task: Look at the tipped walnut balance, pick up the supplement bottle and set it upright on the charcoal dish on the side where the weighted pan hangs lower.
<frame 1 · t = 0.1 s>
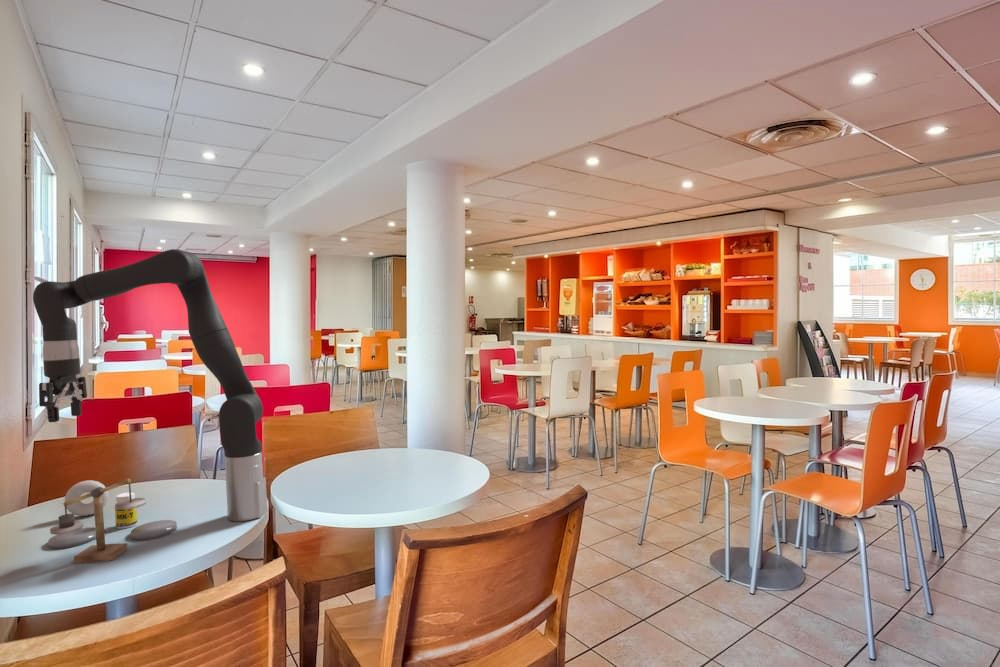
hand: (65, 418, 144), 29 cm above the table, tool pointing down, fingers open, 8 cm apart
donut: (88, 516, 154), on the table
dish low side: (74, 540, 137), on the table
balance: (101, 556, 127), on the table
dish high side: (154, 532, 140), on the table
supplement bottle: (127, 526, 145), on the table
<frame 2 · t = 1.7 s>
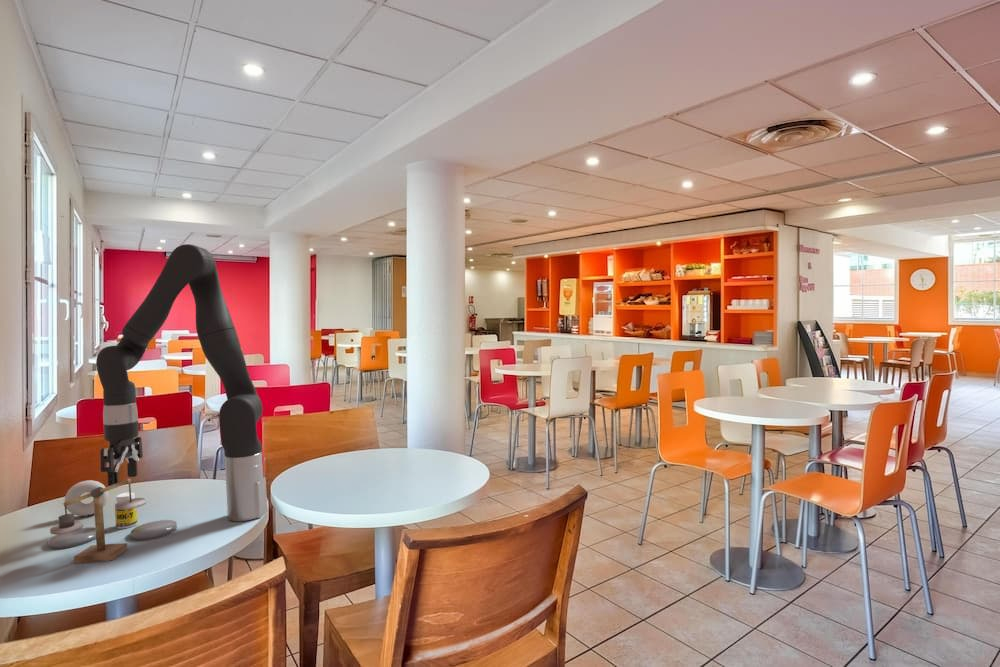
hand: (123, 481, 145), 12 cm above the table, tool pointing down, fingers open, 8 cm apart
nothing on the table moved.
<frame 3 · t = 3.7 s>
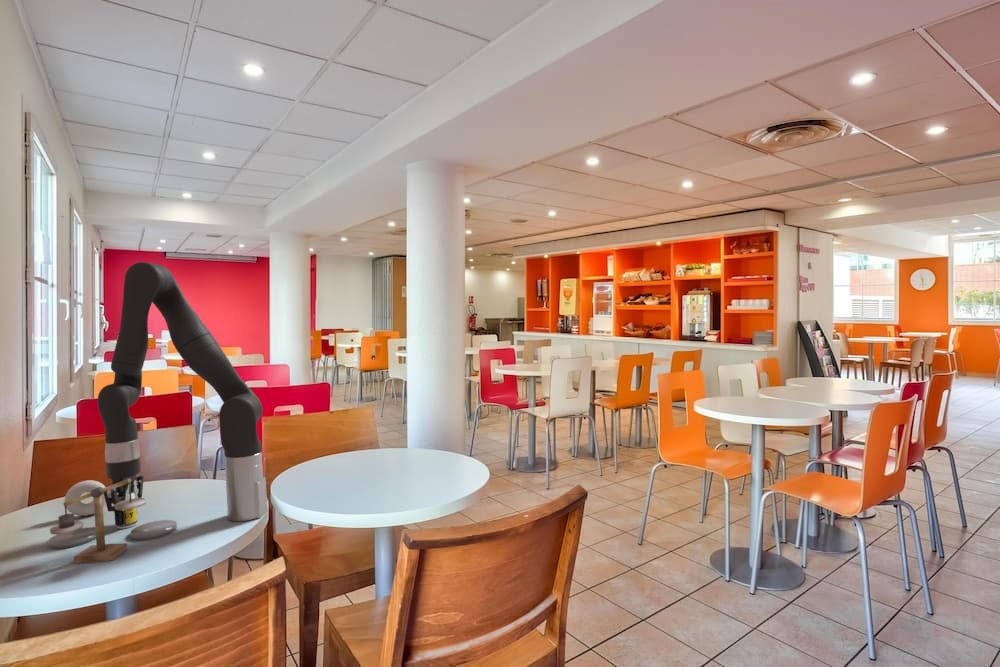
hand: (126, 520, 145), 1 cm above the table, tool pointing down, fingers closed on supplement bottle, 4 cm apart
supplement bottle: (127, 526, 145), on the table, touching gripper
everything else where it was.
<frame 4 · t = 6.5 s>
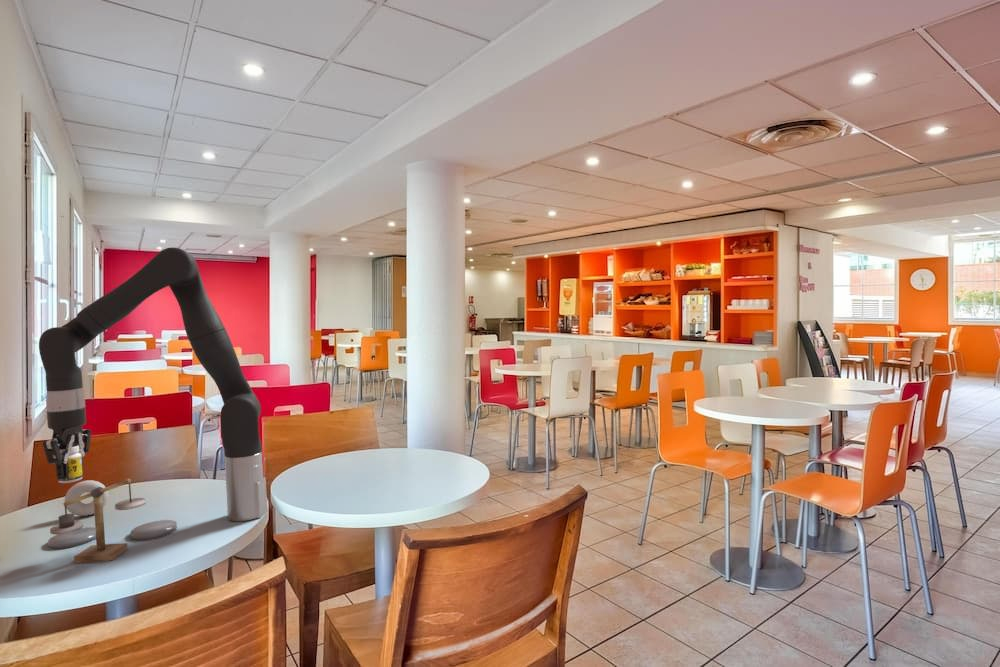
hand: (70, 475, 136), 16 cm above the table, tool pointing down, fingers closed on supplement bottle, 4 cm apart
supplement bottle: (70, 481, 136), point 15 cm above the table, touching gripper
everything else where it was.
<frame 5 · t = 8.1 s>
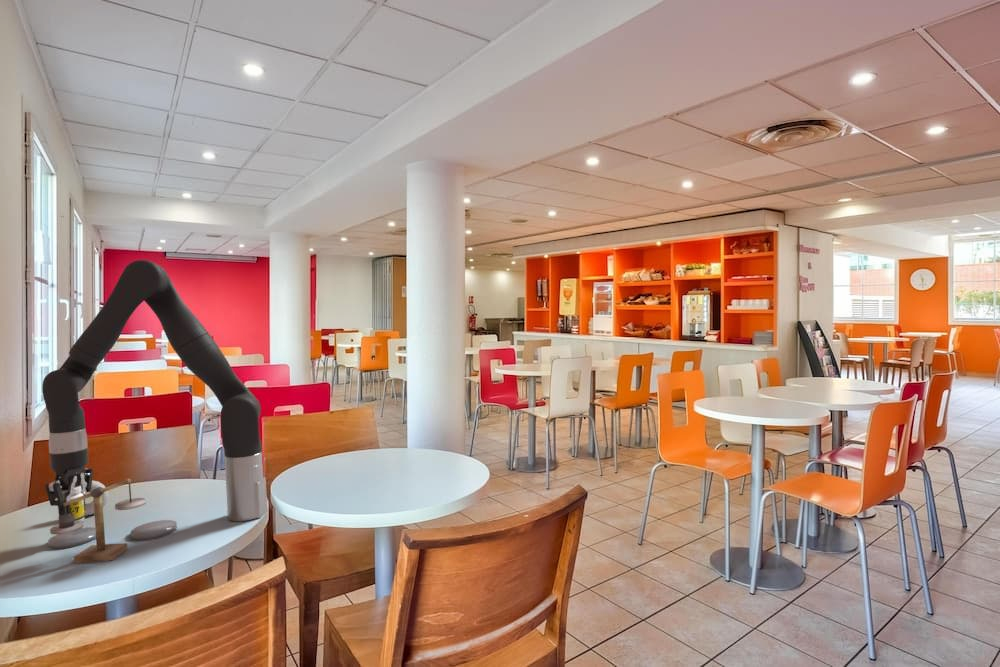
hand: (72, 515, 136), 6 cm above the table, tool pointing down, fingers closed on supplement bottle, 4 cm apart
supplement bottle: (72, 521, 136), point 5 cm above the table, touching gripper
everything else where it was.
when the fingers open (3 cm above the table, at t = 9.6 s): supplement bottle stays where it is, resting on dish low side.
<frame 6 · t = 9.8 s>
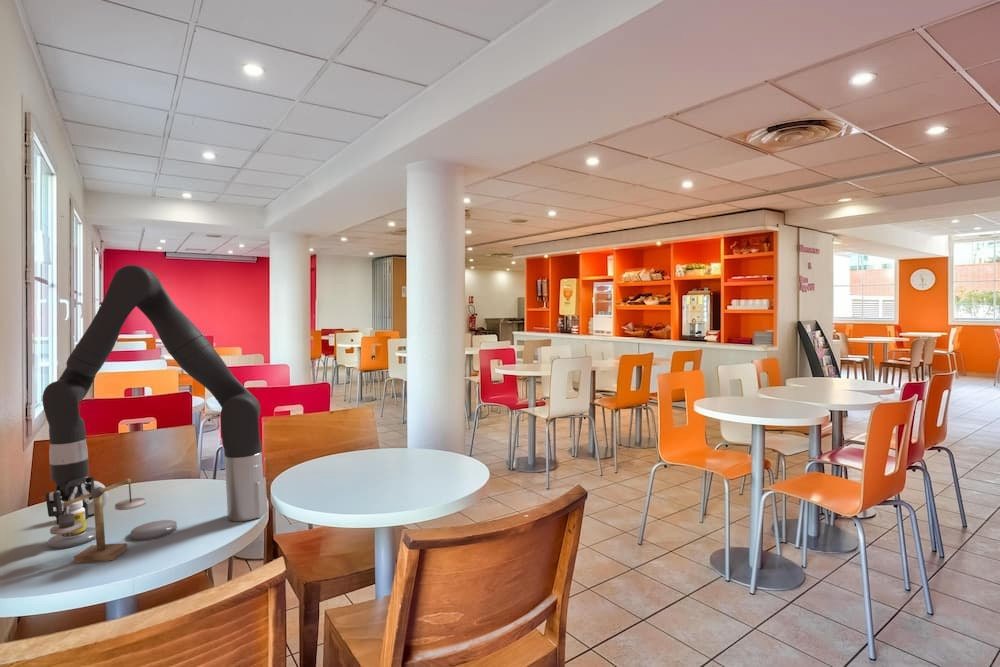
hand: (73, 524, 136), 4 cm above the table, tool pointing down, fingers open, 6 cm apart
supplement bottle: (74, 536, 136), point 1 cm above the table, touching dish low side
everything else where it was.
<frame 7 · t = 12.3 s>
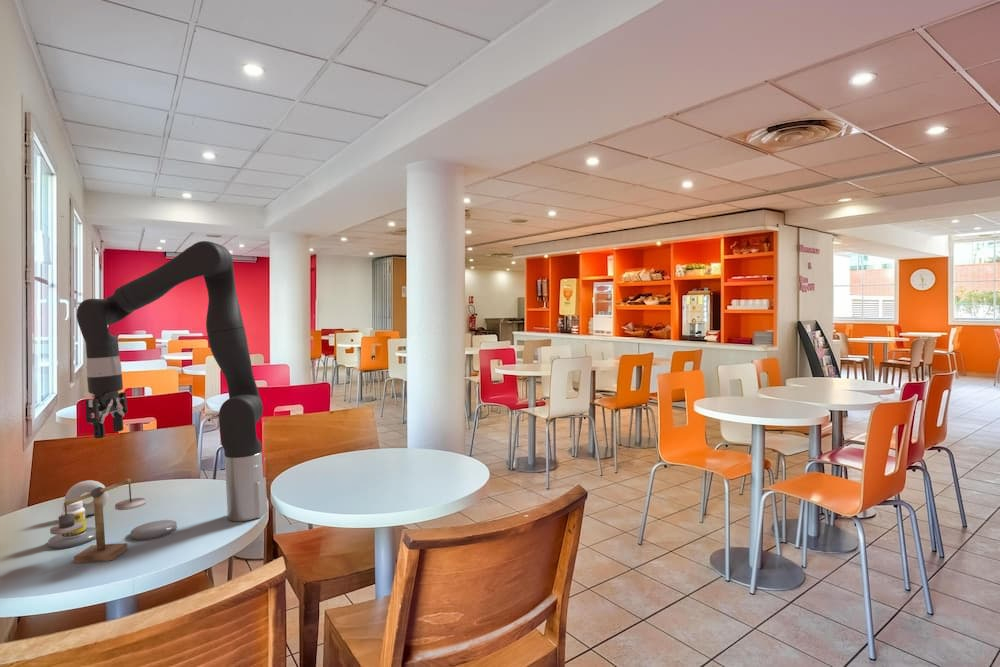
hand: (109, 434, 146), 24 cm above the table, tool pointing down, fingers open, 8 cm apart
nothing on the table moved.
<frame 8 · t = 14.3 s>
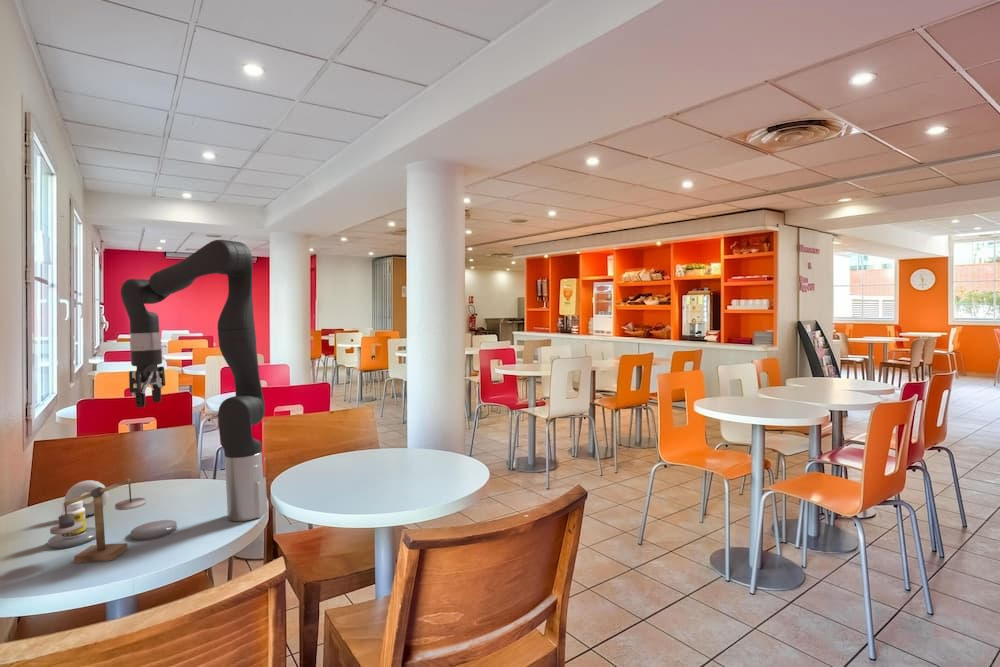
hand: (149, 404, 158), 30 cm above the table, tool pointing down, fingers open, 8 cm apart
nothing on the table moved.
at the end: supplement bottle 0.1 cm off-centre on the dish low side, point 1.0 cm above the dish low side's base; supplement bottle tilted 0°; the gripper is holding nothing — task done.
